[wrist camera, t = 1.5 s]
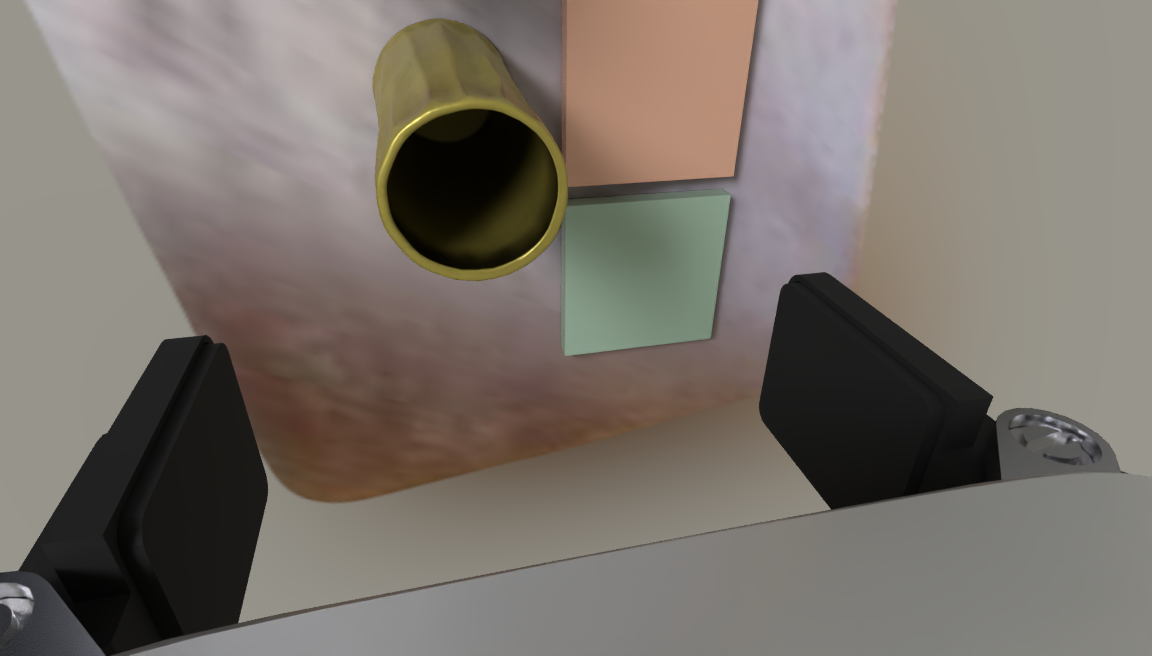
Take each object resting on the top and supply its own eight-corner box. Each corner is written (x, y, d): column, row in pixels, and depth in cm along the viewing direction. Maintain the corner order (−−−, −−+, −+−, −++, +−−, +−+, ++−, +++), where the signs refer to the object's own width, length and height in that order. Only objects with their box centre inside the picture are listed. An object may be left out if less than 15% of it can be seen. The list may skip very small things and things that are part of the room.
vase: (343, 66, 28) (305, 162, 16) (463, -11, 28) (515, 29, 16) (426, 182, 31) (445, 332, 19) (533, 114, 31) (621, 226, 19)
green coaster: (561, 199, 33) (565, 206, 33) (722, 188, 35) (730, 194, 34) (561, 346, 38) (564, 356, 37) (703, 329, 40) (710, 338, 39)
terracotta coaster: (562, -21, 28) (567, -19, 27) (750, -20, 30) (761, -19, 29) (561, 180, 33) (565, 187, 32) (725, 170, 35) (733, 176, 34)
